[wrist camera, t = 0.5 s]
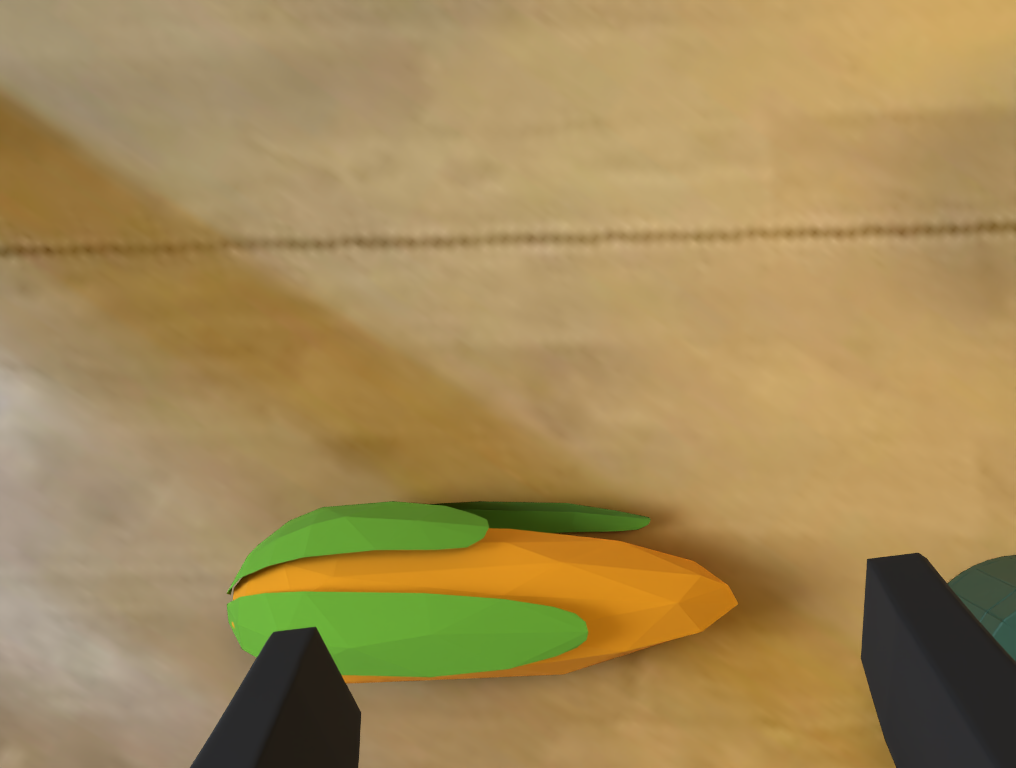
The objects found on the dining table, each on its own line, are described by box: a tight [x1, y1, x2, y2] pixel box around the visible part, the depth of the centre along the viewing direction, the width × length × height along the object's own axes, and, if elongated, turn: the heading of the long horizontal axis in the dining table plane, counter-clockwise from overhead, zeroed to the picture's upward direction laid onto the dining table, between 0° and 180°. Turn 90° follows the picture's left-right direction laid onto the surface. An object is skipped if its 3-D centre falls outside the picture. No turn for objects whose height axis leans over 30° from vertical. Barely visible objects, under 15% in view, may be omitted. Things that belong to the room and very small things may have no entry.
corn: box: [227, 501, 738, 683], centre depth 34 cm, size 7×8×20 cm
